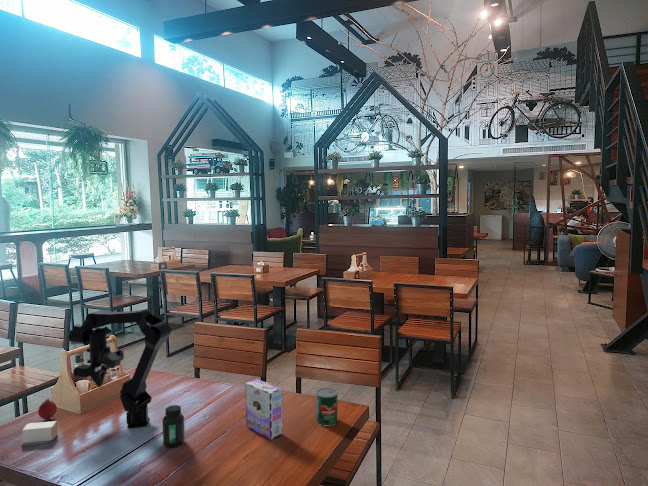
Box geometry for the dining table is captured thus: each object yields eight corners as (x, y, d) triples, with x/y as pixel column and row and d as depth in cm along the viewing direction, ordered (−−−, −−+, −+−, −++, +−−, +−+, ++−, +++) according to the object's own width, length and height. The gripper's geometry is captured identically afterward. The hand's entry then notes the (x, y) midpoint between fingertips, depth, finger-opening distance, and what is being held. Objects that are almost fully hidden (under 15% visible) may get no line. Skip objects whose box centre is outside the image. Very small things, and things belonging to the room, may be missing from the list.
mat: (55, 433, 157) (55, 432, 157) (48, 443, 151) (48, 442, 151) (30, 435, 156) (30, 434, 156) (21, 446, 149) (21, 444, 149)
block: (57, 420, 156) (27, 423, 154) (52, 427, 152) (22, 429, 150) (57, 433, 156) (28, 436, 154) (53, 440, 152) (22, 443, 150)
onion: (48, 424, 164) (47, 402, 163) (34, 422, 165) (33, 401, 164) (60, 416, 169) (59, 396, 169) (47, 415, 171) (46, 394, 170)
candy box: (283, 434, 157) (283, 388, 156) (270, 440, 153) (270, 393, 151) (258, 421, 166) (257, 377, 165) (245, 427, 162) (244, 382, 161)
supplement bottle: (175, 450, 147) (174, 414, 146) (158, 446, 149) (157, 410, 148) (189, 439, 153) (188, 405, 152) (172, 436, 155) (171, 402, 154)
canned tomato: (325, 428, 161) (325, 398, 160) (311, 420, 167) (311, 391, 166) (342, 421, 166) (342, 392, 165) (327, 414, 172) (327, 386, 171)
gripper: (98, 355, 155) (100, 399, 156) (133, 339, 173) (134, 379, 174) (71, 352, 158) (72, 396, 159) (108, 337, 176) (109, 376, 177)
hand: (99, 386), depth 167 cm, fingers closed
